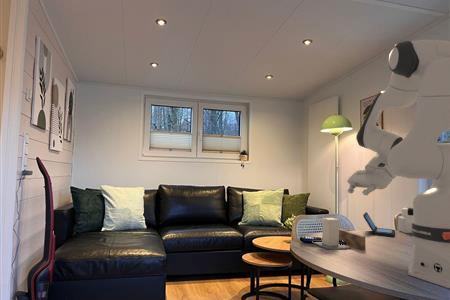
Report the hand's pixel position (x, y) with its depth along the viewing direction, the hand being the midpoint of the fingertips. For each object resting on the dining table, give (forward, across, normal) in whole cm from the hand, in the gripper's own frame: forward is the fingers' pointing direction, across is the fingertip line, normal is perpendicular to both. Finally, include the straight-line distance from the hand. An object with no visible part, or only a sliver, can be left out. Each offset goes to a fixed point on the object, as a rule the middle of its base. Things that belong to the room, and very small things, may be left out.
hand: (356, 193), depth 129 cm
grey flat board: (+23, 0, +6) cm, 24 cm away
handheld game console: (-4, -20, +35) cm, 40 cm away
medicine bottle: (-17, -19, +47) cm, 53 cm away
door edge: (+17, -2, +12) cm, 21 cm away
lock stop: (+23, 0, +6) cm, 24 cm away
